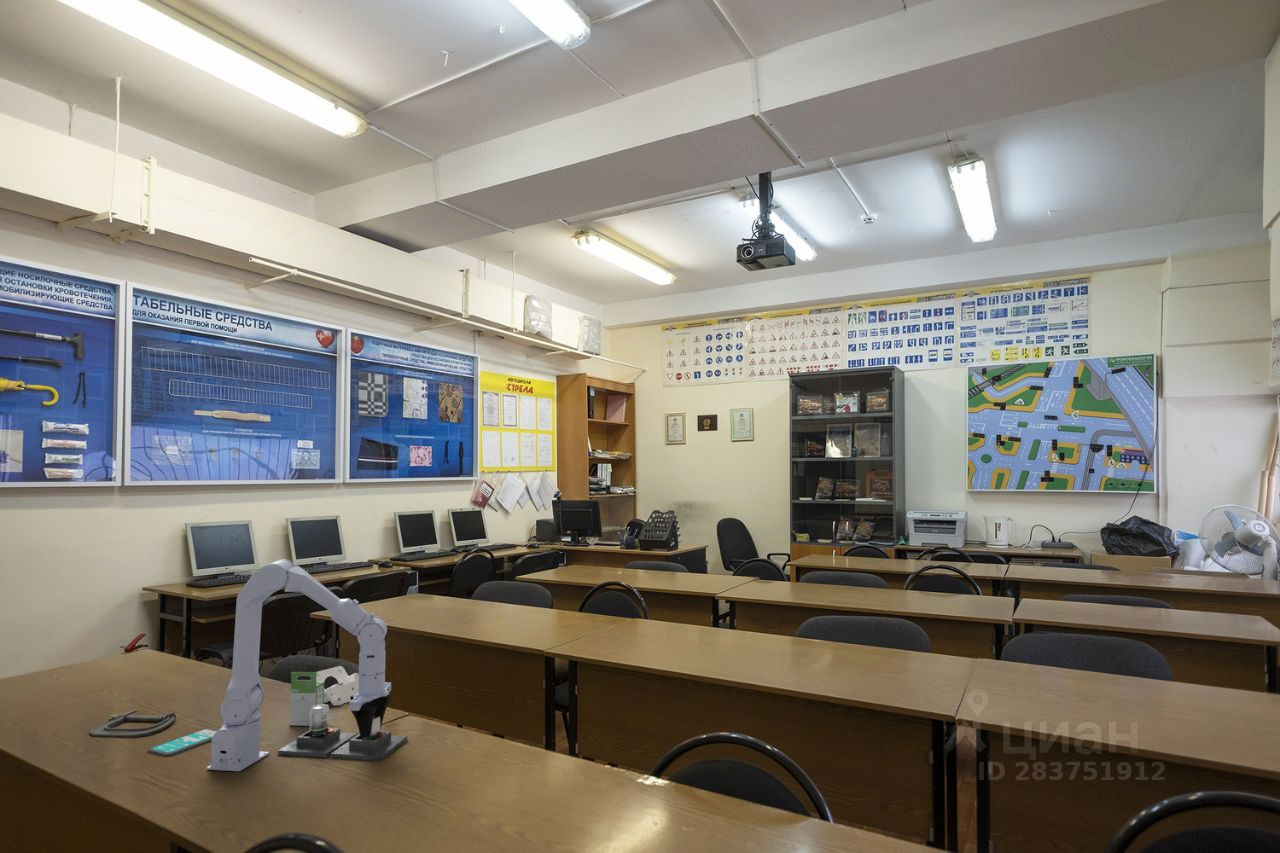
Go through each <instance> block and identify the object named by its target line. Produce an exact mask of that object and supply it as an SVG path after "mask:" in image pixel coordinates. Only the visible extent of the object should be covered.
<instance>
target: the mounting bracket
mask: <svg viewBox="0 0 1280 853" xmlns="http://www.w3.org/2000/svg"><path fill="white" fill-rule="evenodd" d="M316 672H317V676H316V682H317V683H324V684H325V681H326V679H327V678H328V677H332V678H335V679H336V680H337V683H335V684H333V685H331V686H329V687H328V688H326V689H325V687H324V701H323V704H326V703H329V701H330V703H331V705H332V706H333V707H338V706H341V705H344V703H345V704H348V703H350V701H352V700H353V699H354V698H355V696H356V694H357V693H358V684H359V672H354V673H353V674H351V675H349V674H348V673H347V671H346V670H345V667H343V666H341V665H339V666H334V667H331V668H327V669H323V670H318V671H316ZM351 697H352V699H351ZM347 702H348V703H347ZM337 705H338V706H337Z"/></svg>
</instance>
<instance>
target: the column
mask: <svg viewBox="0 0 1280 853" xmlns="http://www.w3.org/2000/svg"><path fill="white" fill-rule="evenodd" d="M380 730H381V729H380V716H379V715H374V717H373V722H372V730H371V735H370V736H369V737H361V740H376V739H377V738H379V734H380Z"/></svg>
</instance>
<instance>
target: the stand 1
mask: <svg viewBox="0 0 1280 853" xmlns="http://www.w3.org/2000/svg"><path fill="white" fill-rule="evenodd" d="M356 735H358V733H357V732H342V731H341V728H340V727H329V728H328V731H327V734H325V735H322V736H310V735H309V730H307V731H306V732H304V733H302V734H300V735H298V736H297V737H296V739H294V740H293V741H291V742H290V743H289V744H286V745H284V746H283V747H282V748H280V749H278V750H277V755H278V756H290V757H308V758H322V759H327V758H329V757H331V753H333V752H334V751H335V750H337V749H338V748H340V747H341V746H343V745H344V744H346V743H347V742H349V740H350V739H352V738H353V737H355V736H356Z"/></svg>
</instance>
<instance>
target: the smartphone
mask: <svg viewBox="0 0 1280 853" xmlns="http://www.w3.org/2000/svg"><path fill="white" fill-rule="evenodd" d="M218 730H220V728H219V729H218V728H214V727H206V728H202V729H200V730H197V731H194V732H191V733H189V734H186V735H182V736H180V737H176V738H174V739H171V740H167V741H166V742H162V743H159V744H157V745H153V746H151V747H149V748H147V753H150V754H154V755H158V756H162V757H172V756H176V755H178V754H181V753H183V752H188V751H189V750H192V749H194V748H197V747H200V746H202V745H205V744H208V743H210V742H212V738H213V736H214V734H215V733H216V732H217V731H218Z"/></svg>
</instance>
